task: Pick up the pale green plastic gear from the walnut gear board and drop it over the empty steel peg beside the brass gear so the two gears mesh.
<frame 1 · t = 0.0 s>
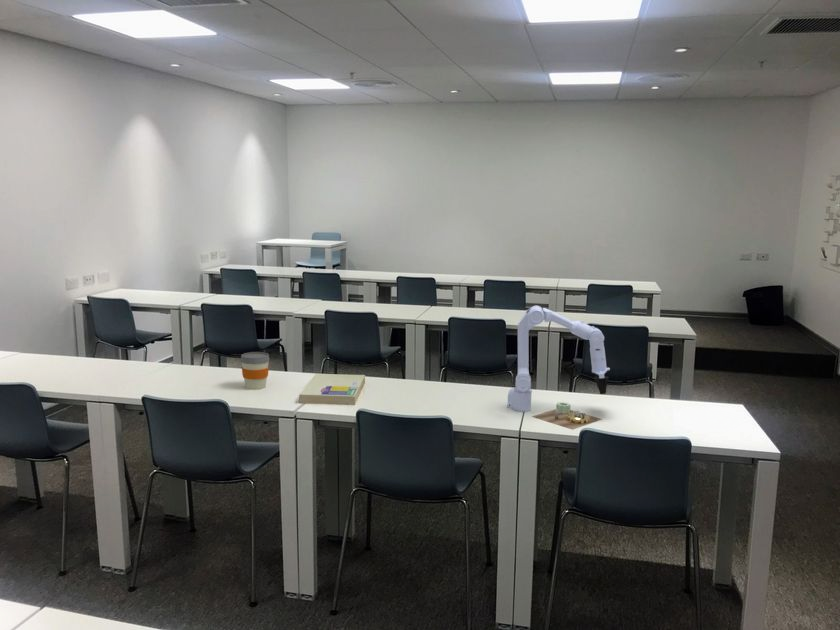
hand: (601, 391, 276), 11 cm above the table, fingers open, 7 cm apart
brass gear: (577, 420, 268), resting on gear board
puzzle box: (333, 394, 304), on the table
pale green gear: (563, 411, 279), point 1 cm above the table, touching gear board
reusable coffee cup: (255, 387, 310), on the table
gear board: (566, 420, 271), on the table
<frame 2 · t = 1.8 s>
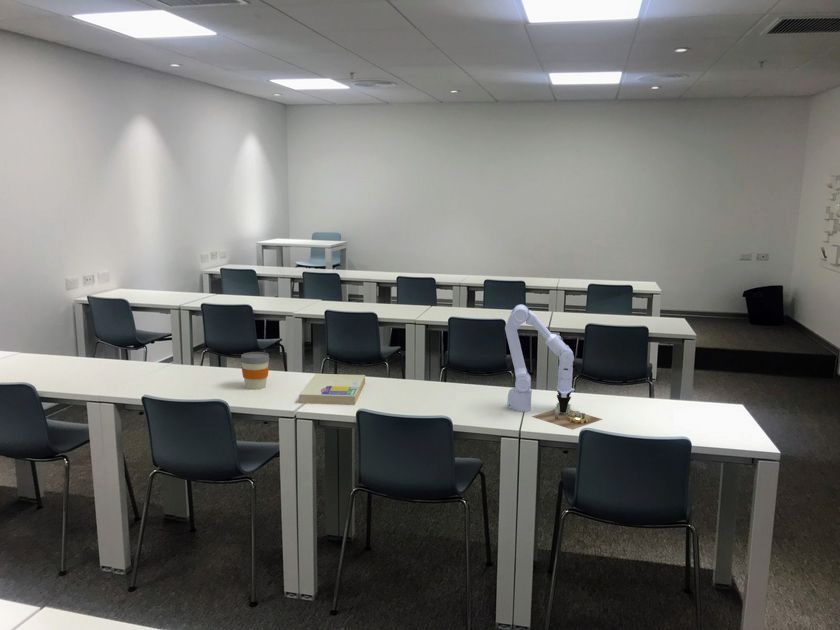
hand: (563, 410, 279), 2 cm above the table, fingers closed on pale green gear, 6 cm apart
pale green gear: (563, 411, 279), point 1 cm above the table, touching gear board, gripper
everything else where it was.
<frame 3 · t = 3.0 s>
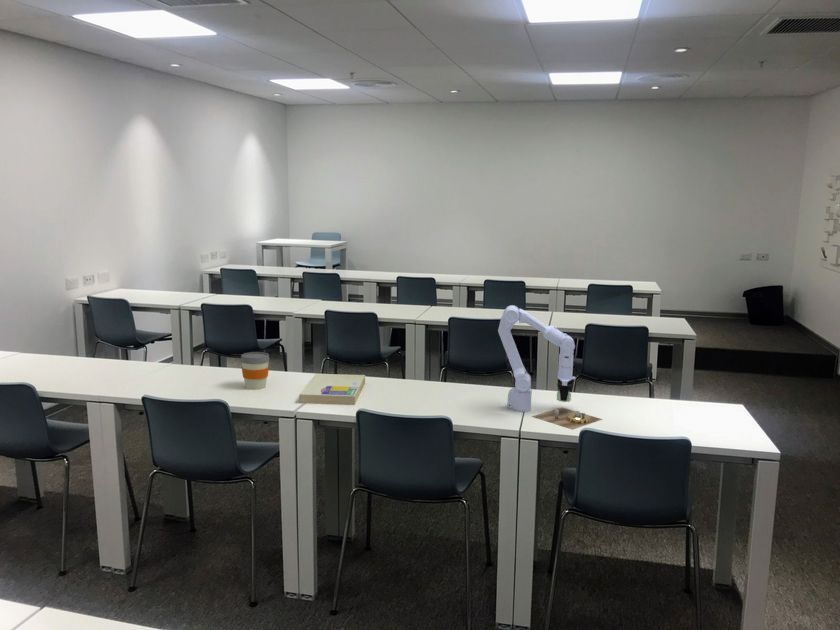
hand: (563, 398, 278), 7 cm above the table, fingers closed on pale green gear, 6 cm apart
pale green gear: (563, 400, 278), point 6 cm above the table, touching gripper
everything else where it was.
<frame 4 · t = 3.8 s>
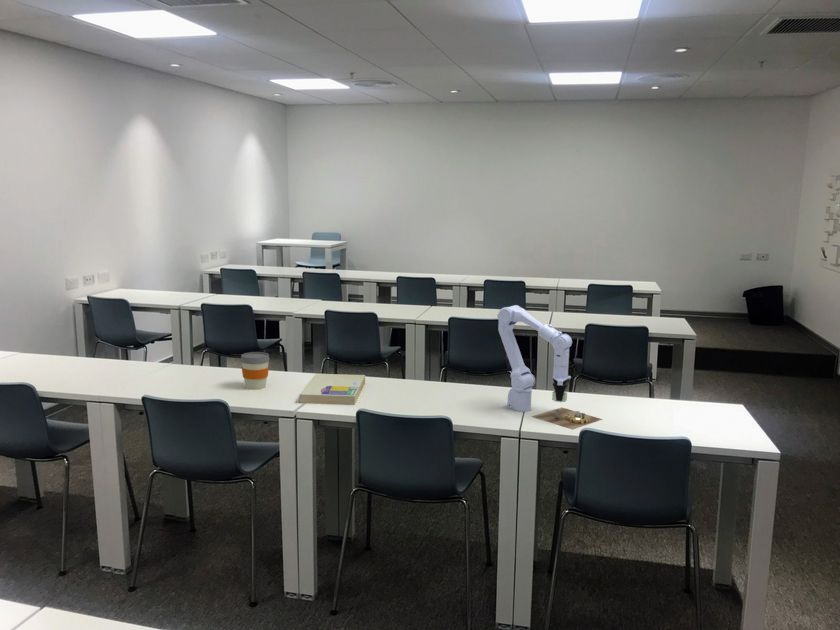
hand: (559, 398, 270), 9 cm above the table, fingers closed on pale green gear, 6 cm apart
pale green gear: (559, 400, 271), point 8 cm above the table, touching gripper
everything else where it was.
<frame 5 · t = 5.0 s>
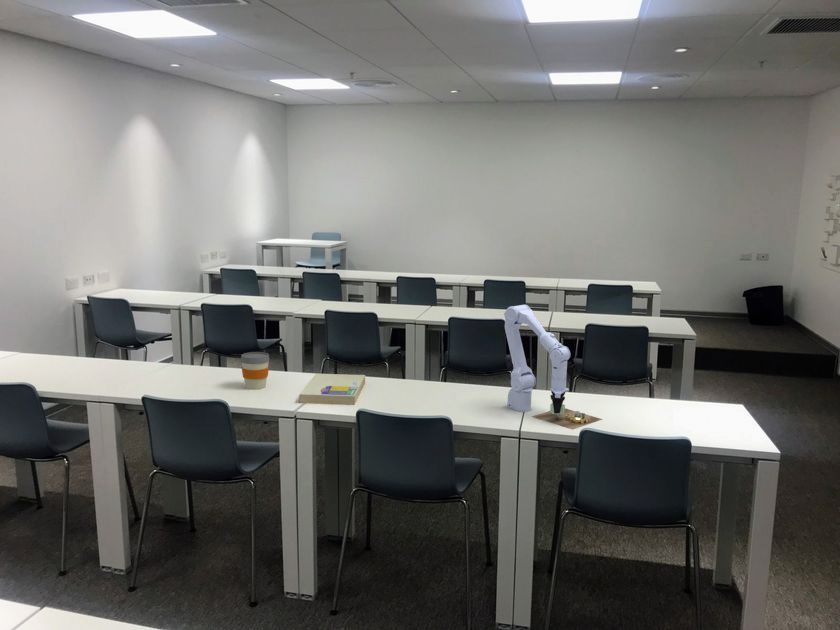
hand: (557, 410, 269), 4 cm above the table, fingers closed on pale green gear, 6 cm apart
pale green gear: (557, 412, 269), point 4 cm above the table, touching gripper
everything else where it was.
when the fingers open (3 cm above the table, at t = 6.0 s): pale green gear stays where it is, resting on gear board.
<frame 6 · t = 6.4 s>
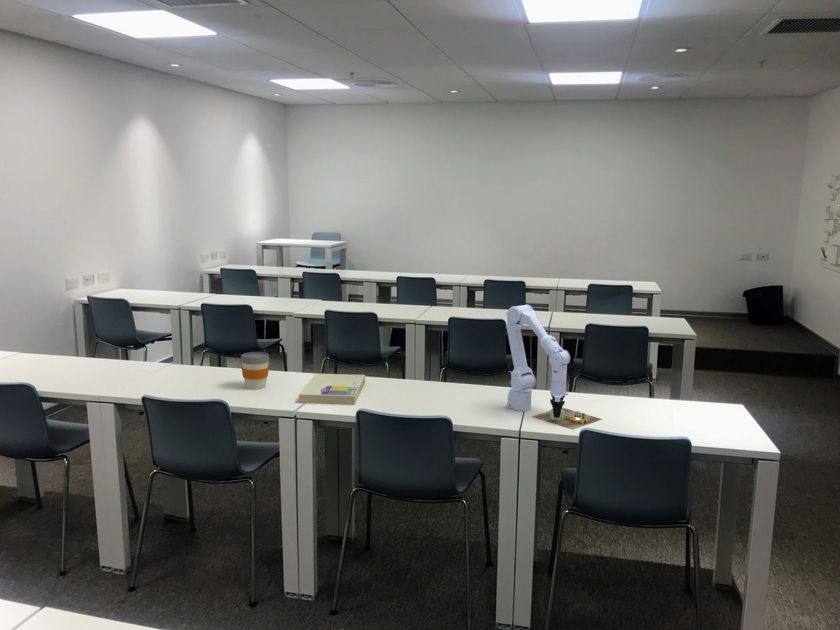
hand: (556, 414, 269), 3 cm above the table, fingers open, 7 cm apart
pale green gear: (556, 418, 270), point 1 cm above the table, touching gear board
everything else where it was.
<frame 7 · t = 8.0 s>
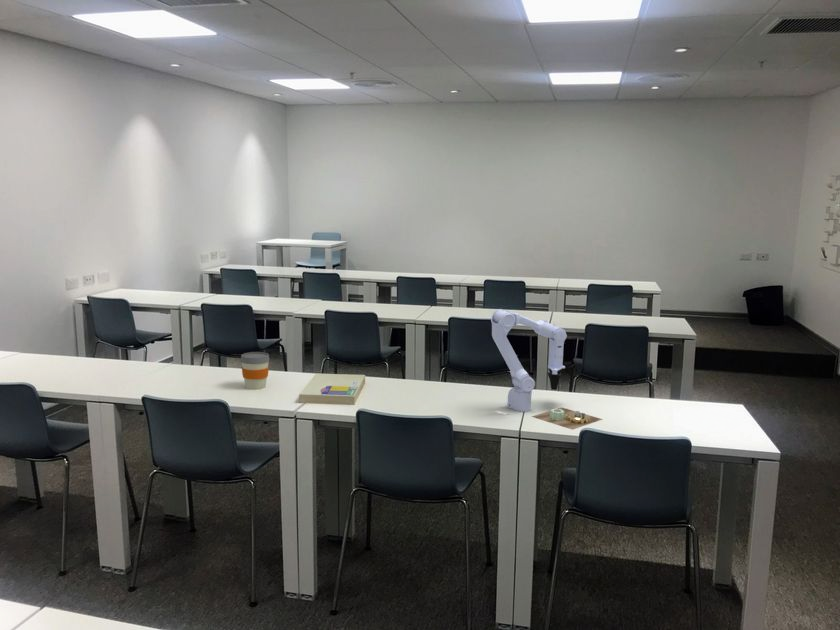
hand: (554, 387, 284), 9 cm above the table, fingers open, 7 cm apart
nothing on the table moved.
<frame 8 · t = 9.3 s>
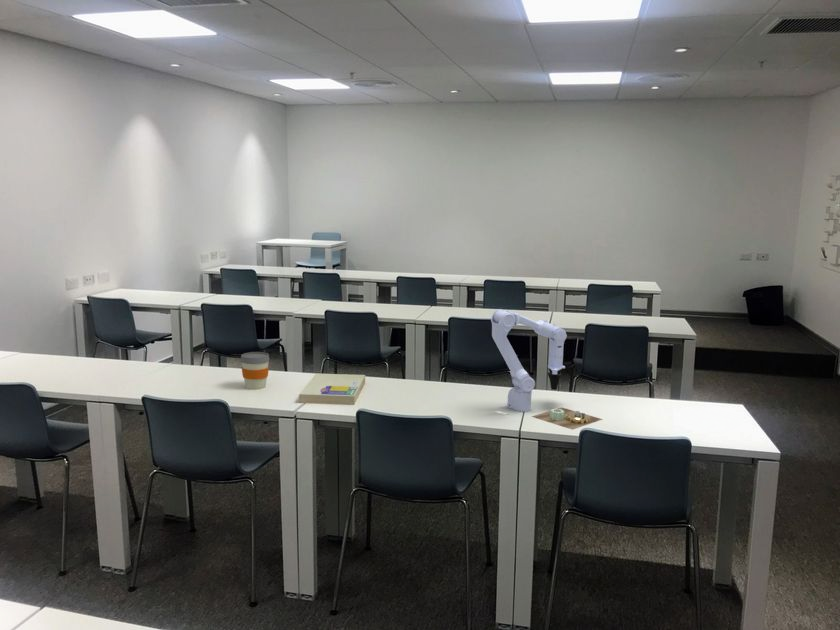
hand: (554, 387, 284), 9 cm above the table, fingers open, 7 cm apart
nothing on the table moved.
at the end: pale green gear 0.1 cm from the target spot on the gear board, point 1.0 cm above the gear board's base; pale green gear tilted 0°; the gripper is holding nothing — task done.
